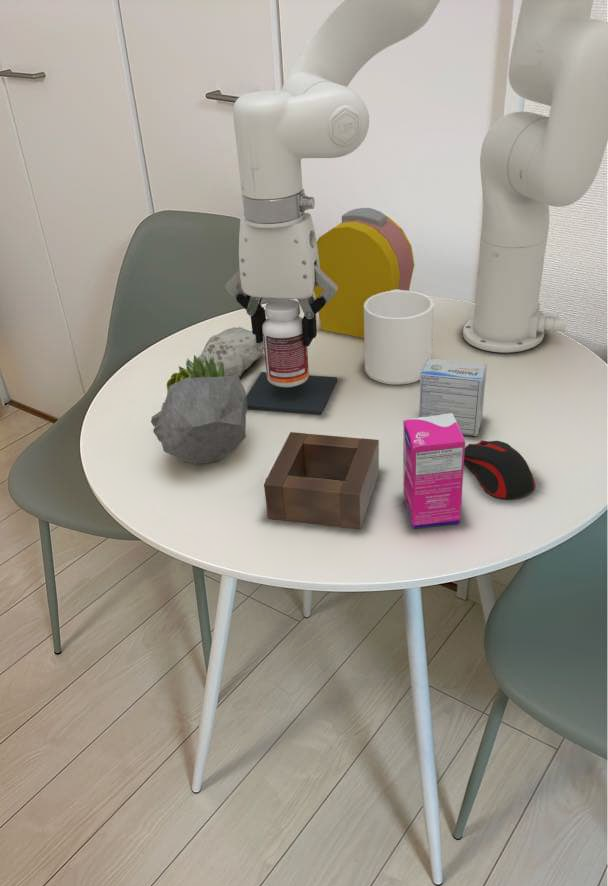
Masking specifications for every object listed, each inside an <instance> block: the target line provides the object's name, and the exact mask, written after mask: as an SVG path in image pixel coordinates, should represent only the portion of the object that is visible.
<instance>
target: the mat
mask: <svg viewBox="0 0 608 886" xmlns="http://www.w3.org/2000/svg"><path fill="white" fill-rule="evenodd" d="M337 383H338V377H337V376H327V375H326V376H325V375H310V374H309V377H308V379H307V380H306V381H305V382H304V383H302V384H300V385H298V386H294V387H279V386H275V385H272V384H271V383H270V382H269V381H268V380H267V376H266V371H261V372H260V374H259V375H258V376H257V379H256V380H255V382H254V383H253V385H252V387H251V388H250V389H249V391H248V393H246V396H247V410H257V411H268V412H281V413H291V414H293V413H294V414H305V415H316V416H322V414H323V412H324V410H325V408H326V406H327V404H328V401H329V399H330V397H331V395H332V393H333V391H334V389H335V387H336V385H337Z"/></svg>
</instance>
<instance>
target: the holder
mask: <svg viewBox="0 0 608 886" xmlns="http://www.w3.org/2000/svg"><path fill="white" fill-rule="evenodd" d="M285 440H286V441H285V442H284V444H283V446H282V448H281V450H280V451H279V454H278V455H277V457H276V459H275V461H274V464H273V465H272V467H271V469H270V471H269V473H268V475H267V477H266V479H265V481H264V483H263V489H264V497H265V505H266V513H267V519H271V520H279V521H280V520H281V521H289V522H297V523H305V524H313V525H323V526H324V525H325V526H330V527H331V526H332V527H338V528H339V527H340V528H341V527H342V528H347V529H354V530H361V529H362V526H363V523H364V520H365V517H366V514H367V509H368V508H369V504H370V502H371V498H372V495H373V492H374V489H375V486H376V484H377V480H378V478H379V474H380V440H379V439H374V438H372V439H371V438H363V437H361V438H359V437H352V436H351V437H350V436H349V437H348V436H338V435H337V436H336V435H327V434H318V433H317V434H315V433H306V432H295V431H290V432H289V434H288V436H287V437H286V439H285Z"/></svg>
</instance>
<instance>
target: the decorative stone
mask: <svg viewBox="0 0 608 886" xmlns="http://www.w3.org/2000/svg"><path fill="white" fill-rule="evenodd" d="M263 354H264V344H263V341H262V342H261V343H256V336H255V335H254V334H253V333H252V330H249V329H247V328H244V327H241V326H239V327H230V328H227V329H224V330H223V331H221V332H219V333H218V334H215V335H213V336H211V337H210V338H208V341H207V342H206V343H205V345H204V348H203V350H202V351H201V354H200V355H198V357H199V358H200V360H201V361H202V362H203V363H204V355H205V357H206V359H207V361H208V363H209V361H210V357H211V358H212V357H213V358H214V363H216V369H217V374H218V371H219V367H220V362H222V363H223V367H224V375H225V376H229V375H230V376H231V375H238V377H239V379H240V378H241V376H243V374H244V372H245V371H246V370H248V369H250V367H251V366H252V364H253V363H254V362H255V361H257V360H258V359H260V357H261V356H262V355H263Z"/></svg>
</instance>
